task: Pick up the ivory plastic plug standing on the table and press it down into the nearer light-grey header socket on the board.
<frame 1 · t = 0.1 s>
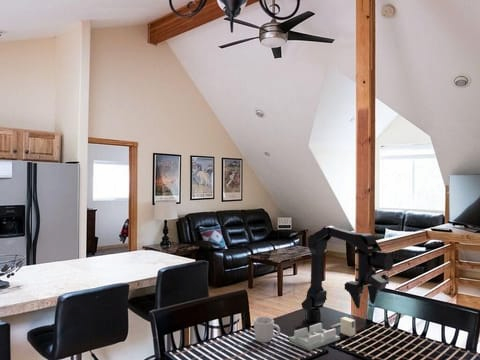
hand: (365, 305, 150), 14 cm above the table, tool pointing down, fingers open, 9 cm apart
cup: (266, 341, 152), on the table
board: (314, 339, 153), on the table
plug: (347, 333, 159), on the table
lead: (337, 326, 168), on the table
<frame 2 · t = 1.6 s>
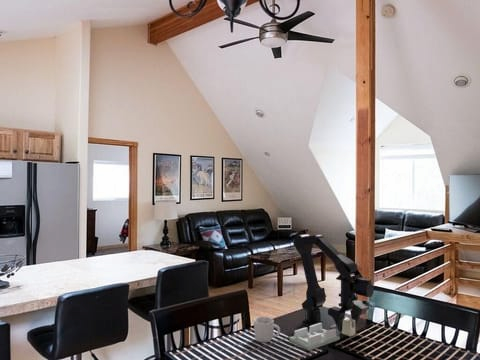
hand: (347, 329, 159), 2 cm above the table, tool pointing down, fingers open, 9 cm apart
nothing on the table moved.
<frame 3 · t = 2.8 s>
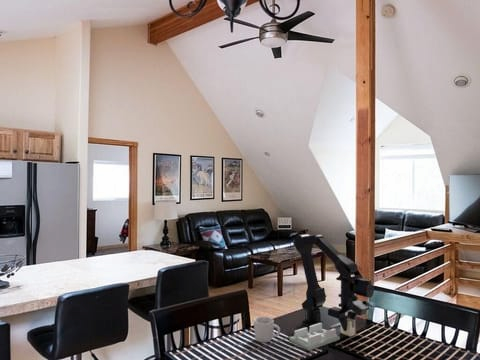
hand: (347, 329, 159), 2 cm above the table, tool pointing down, fingers closed on plug, 3 cm apart
plug: (347, 333, 159), on the table, touching gripper
everything else where it was.
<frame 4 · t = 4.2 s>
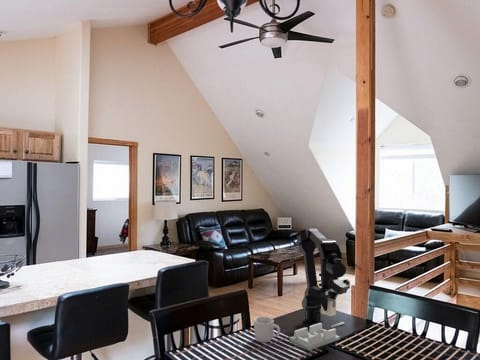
hand: (328, 310, 156), 11 cm above the table, tool pointing down, fingers closed on plug, 3 cm apart
plug: (328, 313, 155), point 9 cm above the table, touching gripper
everything else where it was.
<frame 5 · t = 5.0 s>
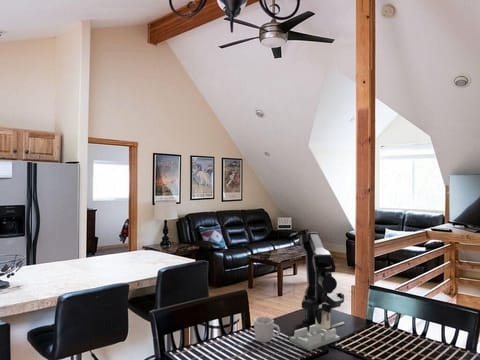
hand: (322, 323, 155), 6 cm above the table, tool pointing down, fingers closed on plug, 3 cm apart
plug: (322, 326, 155), point 4 cm above the table, touching gripper
everything else where it was.
when the fingers open (4 cm above the table, at t = 5.7 s): plug stays where it is, resting on board.
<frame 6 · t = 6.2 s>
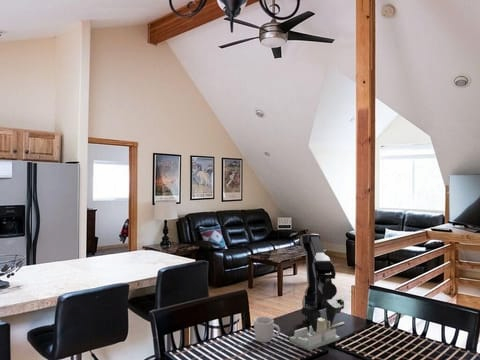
hand: (322, 329, 155), 4 cm above the table, tool pointing down, fingers open, 8 cm apart
plug: (322, 335, 155), point 1 cm above the table, touching board
everything else where it was.
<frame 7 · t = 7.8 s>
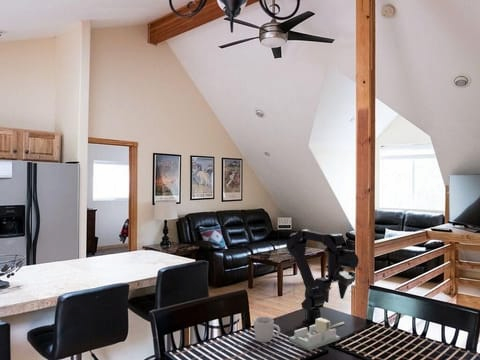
hand: (334, 300, 162), 13 cm above the table, tool pointing down, fingers open, 9 cm apart
nothing on the table moved.
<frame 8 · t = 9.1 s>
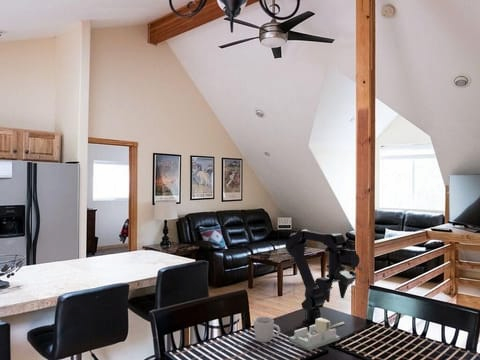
hand: (335, 300, 162), 13 cm above the table, tool pointing down, fingers open, 9 cm apart
nothing on the table moved.
at the end: plug 0.1 cm from the target spot on the board, point 1.2 cm above the board's base; plug tilted 0°; the gripper is holding nothing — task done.
